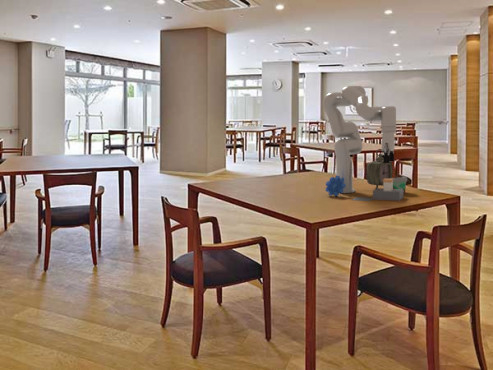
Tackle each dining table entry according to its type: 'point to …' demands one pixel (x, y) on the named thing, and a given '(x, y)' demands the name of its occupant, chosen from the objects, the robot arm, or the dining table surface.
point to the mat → (362, 199)
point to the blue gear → (335, 186)
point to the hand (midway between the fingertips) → (388, 162)
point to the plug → (388, 184)
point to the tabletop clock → (378, 171)
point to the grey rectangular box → (388, 194)
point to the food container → (400, 183)
